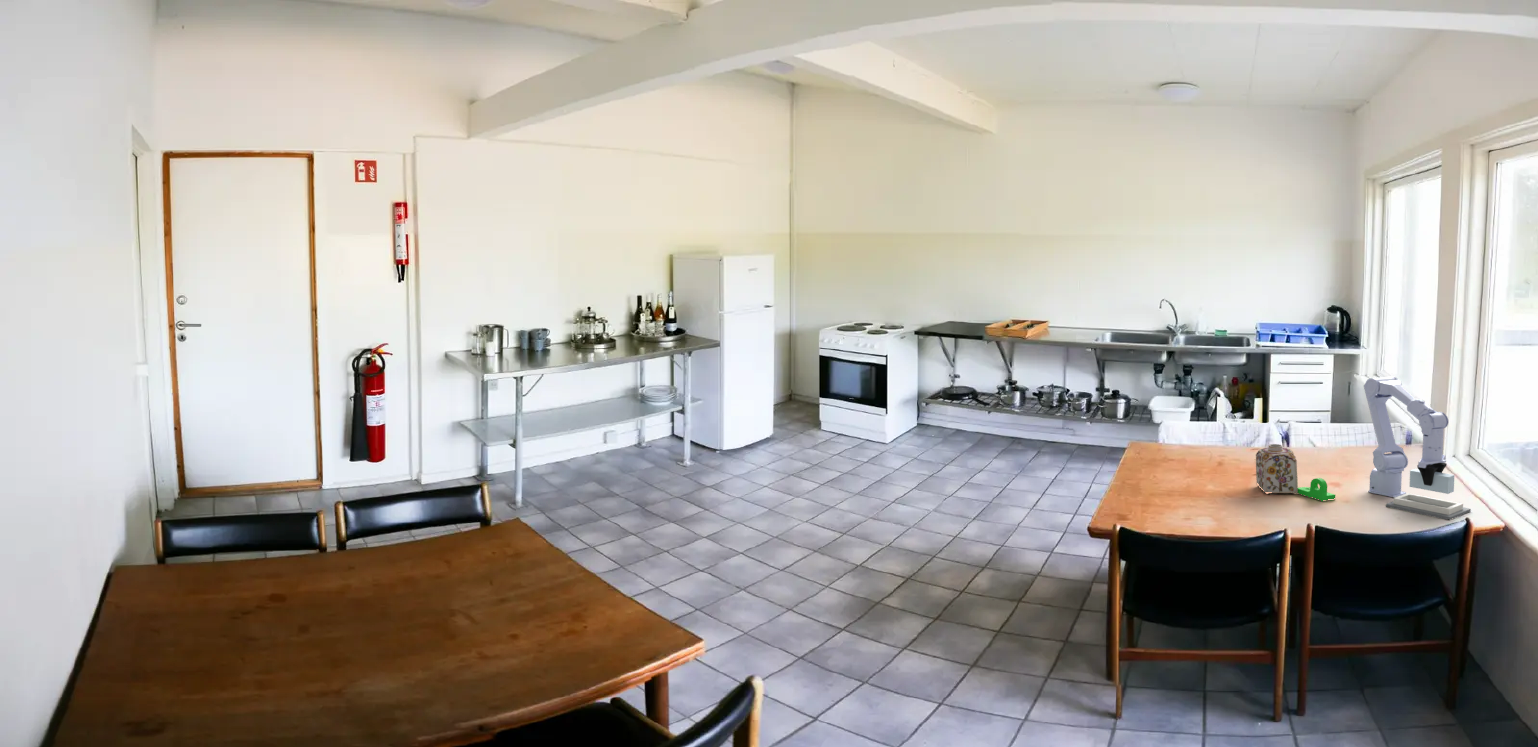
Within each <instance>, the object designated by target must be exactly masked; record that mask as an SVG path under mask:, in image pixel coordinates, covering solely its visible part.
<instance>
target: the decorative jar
mask: <svg viewBox="0 0 1538 747" xmlns="http://www.w3.org/2000/svg"><path fill="white" fill-rule="evenodd" d="M1255 476H1256V478H1255V479H1256V484H1257V483H1258V484H1259V486H1260V487H1261V488H1262V489H1263V490H1264V492H1272V493H1296V494H1297V493H1298V488H1299V483H1298V479H1299V478H1298V461H1297V457H1296V456H1295V453H1294V451H1293V450H1292V449H1291V448H1287V447H1283V445H1282V444H1277V443H1272V444H1269V445H1268V447H1263V448H1261V449H1258V450H1257V452H1256V454H1255ZM1264 492H1263V493H1264Z"/></svg>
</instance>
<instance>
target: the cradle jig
mask: <svg viewBox="0 0 1538 747" xmlns="http://www.w3.org/2000/svg"><path fill="white" fill-rule="evenodd" d="M1385 506H1386V507H1387V508H1391V509H1396V510H1400V511H1405V512H1410V513H1416V514H1419V515H1425V516H1429V517H1434V518H1438V519H1442V520H1447V519H1451V520H1453V519H1455V517H1456V518H1458V517H1461V516H1463V515H1465V514H1468V513H1470V512H1471V511H1472V510H1471V508H1468V507H1464V503H1460V502H1456V501H1451V500H1447V499H1441V498H1434V497H1431V496H1430V497H1429V496H1425V495H1420V494H1415V493H1411V492H1406V494H1404V495H1401V496H1398V497H1393V501H1390V502H1387V503H1386V504H1385ZM1460 515H1461V516H1460ZM1457 516H1458V517H1457ZM1452 518H1453V519H1452Z"/></svg>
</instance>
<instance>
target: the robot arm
mask: <svg viewBox="0 0 1538 747" xmlns="http://www.w3.org/2000/svg"><path fill="white" fill-rule="evenodd" d="M1363 388H1364V389H1363V390H1364V393H1365V396H1366V400H1367V404H1368V409H1369V413H1370V417H1371V422H1372V424H1373V426H1372V427H1373V428H1374V429H1373V430H1374V433H1375V436H1376V441H1377V445H1378V446H1377V447H1376V448H1375V449H1374V450H1372V455H1373V459H1372V460H1373V462H1372V464H1373V465H1374V466H1373V467H1374V468H1373V469H1372V470H1371V472H1370V473H1369V490H1368V493H1371V494H1375V495H1380V496H1385V497H1390V498H1395V497H1398V496H1401V495H1404V494H1406V493H1407V492H1406V491H1402V479H1403V478H1402V477H1403V475H1402V474H1403V472H1405V469H1406V468H1407V467H1408V464H1409V460H1408V457H1407V455H1406V454H1405V451H1404V448H1403V447H1401V446H1400V445H1398V444H1397V443H1396V440H1395V437H1394V433H1393V428H1392V424H1391V420H1390V416H1389V412H1388V407H1387V404H1386V403H1387V401H1388V400H1389V399H1391V398H1392V397H1394V398H1395V399H1396V400H1398V401H1399V402H1400V403H1402V404H1403V405H1405V406H1406V410H1407V412H1408V413H1410V415H1412V416H1413V417H1415V418H1416V420H1418V422H1419V423H1418V424H1419V426H1420V428H1421V429H1420V430H1421V432H1422V451H1421V452H1422V454H1421V458H1420V460H1419V461H1418V463H1417V465H1416V466H1417V468H1416V469H1419V471H1420V473H1421V475H1422V478H1423V482H1424V485H1428V486H1432V483H1433V478H1434V474H1435V472H1440V473H1444V472H1443V471H1444V470H1445V468H1446V467H1447V466H1448V465H1447V463H1446V462H1447V460H1446V459H1447V458H1446V455H1444V452H1443V451H1444V431H1445V430H1444V429H1445V428H1447V427H1448V426H1449V417H1448V416H1447V414H1446V413H1445V412H1443V411H1437V410H1435V409H1434V408H1432V407H1431V406H1430V405H1429V404H1427V403H1426V401H1425V400H1423V399H1419V398H1416V399H1415V397H1414V396H1413V395H1412V394H1411V393H1410V392H1409V391H1407V389H1405V388H1404V387H1403V384H1402V381H1401V380H1400V379H1399V378H1397V377H1396V376H1394V375H1392V376H1391V375H1390V376H1385V377H1384V376H1383V377H1371V378H1368V379H1367V380H1366V381H1365V383H1364V385H1363Z"/></svg>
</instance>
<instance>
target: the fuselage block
mask: <svg viewBox="0 0 1538 747" xmlns="http://www.w3.org/2000/svg"><path fill="white" fill-rule="evenodd" d="M1409 488H1413V489H1420V490H1424V491H1430V492H1436V493H1440V494H1441V493H1443V494H1445V495H1446V494H1447V495H1449V494H1452V493H1454V491H1455V474H1451V473H1445V472H1442V473H1440V472H1435V474H1434V478H1433V483H1432V486H1428V485H1424V482H1423V478H1422V475H1421V473H1420V471H1419V469H1418V468H1414V469H1410V470H1409Z"/></svg>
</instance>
